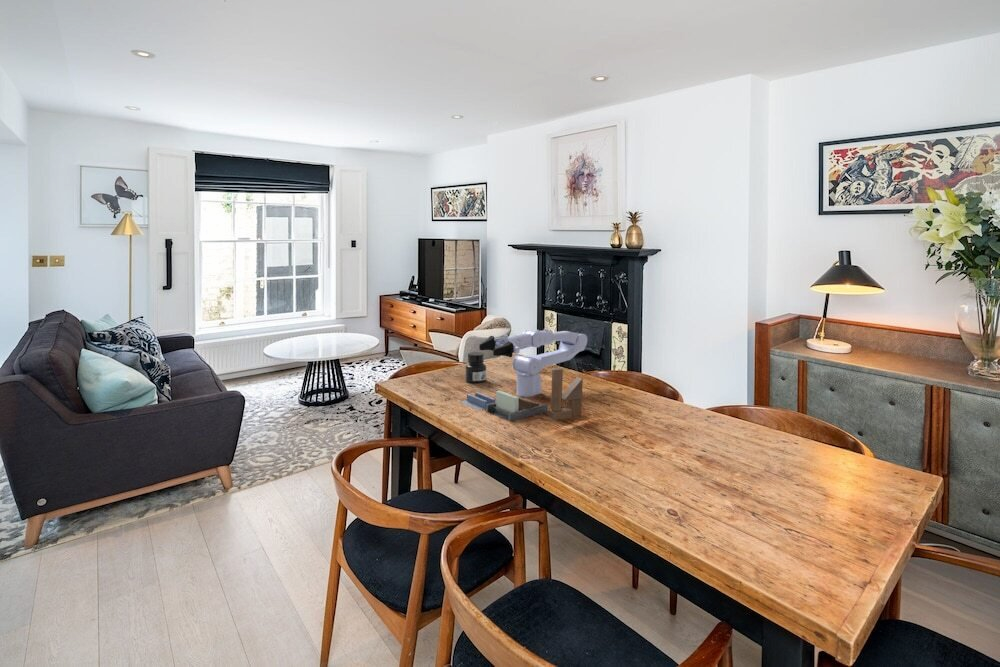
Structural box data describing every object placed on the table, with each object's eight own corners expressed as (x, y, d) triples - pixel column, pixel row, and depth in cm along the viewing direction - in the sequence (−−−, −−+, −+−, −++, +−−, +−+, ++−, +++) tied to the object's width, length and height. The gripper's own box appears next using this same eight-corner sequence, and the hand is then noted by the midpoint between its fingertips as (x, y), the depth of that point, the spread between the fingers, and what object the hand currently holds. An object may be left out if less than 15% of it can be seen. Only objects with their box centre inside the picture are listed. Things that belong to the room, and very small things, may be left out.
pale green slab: (499, 409, 186) (499, 390, 185) (518, 417, 179) (518, 397, 178) (496, 410, 185) (496, 391, 184) (514, 418, 178) (514, 398, 177)
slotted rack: (523, 405, 195) (523, 395, 195) (547, 414, 185) (547, 404, 185) (486, 414, 185) (486, 404, 184) (510, 424, 175) (510, 414, 174)
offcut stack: (523, 404, 192) (524, 394, 191) (538, 410, 186) (539, 400, 185) (514, 407, 189) (514, 397, 189) (529, 413, 183) (529, 402, 183)
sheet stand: (481, 399, 202) (482, 390, 201) (501, 407, 192) (501, 398, 192) (460, 404, 195) (460, 395, 195) (479, 412, 186) (479, 403, 186)
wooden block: (581, 419, 181) (583, 367, 177) (553, 423, 177) (554, 370, 173) (576, 415, 184) (577, 365, 181) (548, 419, 180) (549, 368, 177)
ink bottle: (476, 385, 221) (476, 357, 219) (460, 381, 227) (460, 354, 224) (491, 380, 229) (491, 353, 227) (475, 377, 234) (475, 350, 232)
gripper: (502, 328, 202) (474, 334, 193) (528, 337, 192) (500, 343, 183) (501, 346, 204) (474, 352, 195) (528, 355, 194) (500, 363, 185)
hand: (486, 349), depth 189 cm, fingers open, 7 cm apart
